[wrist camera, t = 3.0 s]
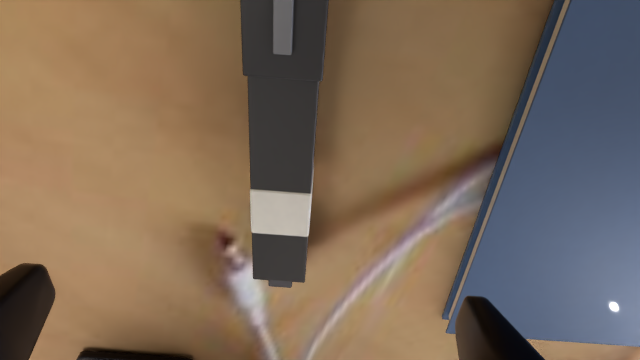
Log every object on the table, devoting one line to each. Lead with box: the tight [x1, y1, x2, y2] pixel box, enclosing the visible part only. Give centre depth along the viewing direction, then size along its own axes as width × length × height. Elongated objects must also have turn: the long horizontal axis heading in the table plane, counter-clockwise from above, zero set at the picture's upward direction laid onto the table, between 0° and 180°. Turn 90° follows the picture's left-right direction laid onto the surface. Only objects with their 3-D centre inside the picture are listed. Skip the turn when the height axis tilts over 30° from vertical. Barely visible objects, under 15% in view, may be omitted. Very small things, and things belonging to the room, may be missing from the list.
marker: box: [240, 0, 329, 288], centre depth 14 cm, size 14×2×3 cm, turn 176°
